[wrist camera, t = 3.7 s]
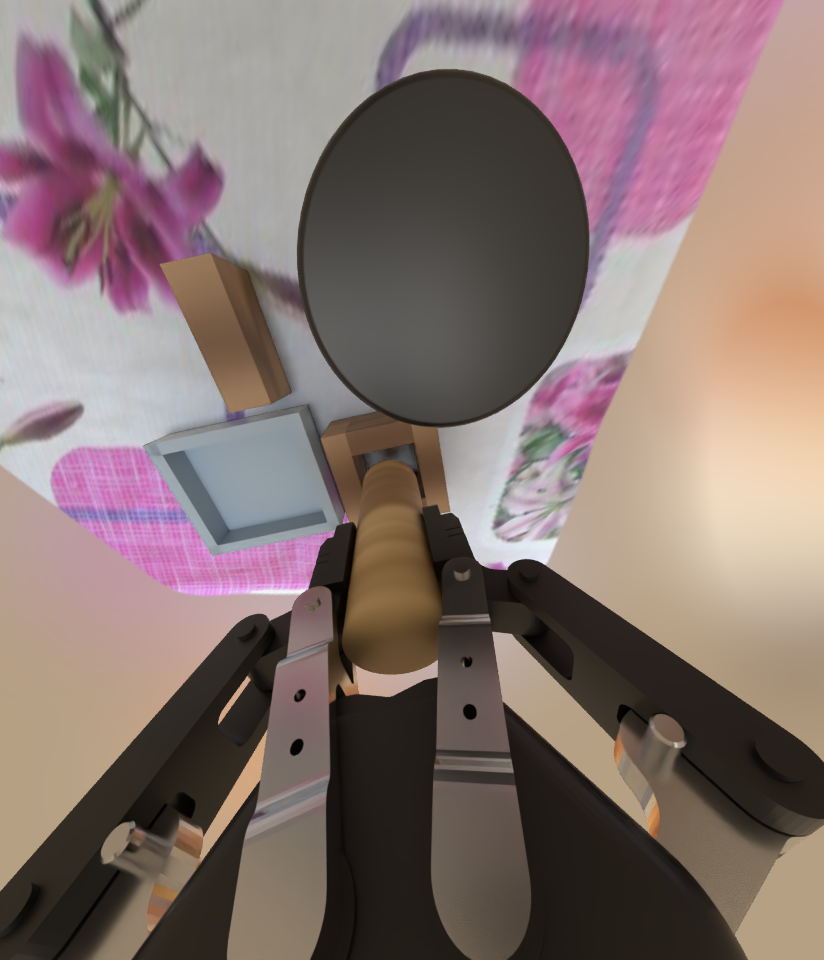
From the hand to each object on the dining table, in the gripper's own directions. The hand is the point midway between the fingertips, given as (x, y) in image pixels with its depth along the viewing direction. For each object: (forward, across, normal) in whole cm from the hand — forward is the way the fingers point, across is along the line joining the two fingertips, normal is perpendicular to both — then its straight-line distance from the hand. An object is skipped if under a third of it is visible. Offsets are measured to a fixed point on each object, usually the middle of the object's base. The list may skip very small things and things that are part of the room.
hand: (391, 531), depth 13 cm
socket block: (+10, 0, 0) cm, 10 cm away
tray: (+10, +10, 0) cm, 14 cm away
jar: (+11, -4, -8) cm, 14 cm away
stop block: (+11, +7, -9) cm, 15 cm away
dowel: (+5, 0, 0) cm, 5 cm away
